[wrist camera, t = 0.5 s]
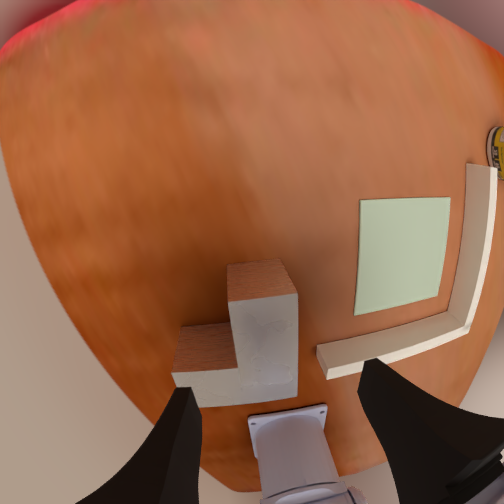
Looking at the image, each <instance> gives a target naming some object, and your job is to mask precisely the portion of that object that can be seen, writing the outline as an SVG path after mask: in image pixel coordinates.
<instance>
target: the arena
mask: <svg viewBox="0 0 504 504" xmlns="http://www.w3.org/2000/svg"><path fill="white" fill-rule="evenodd" d="M496 197H497V168H494V167H489V166H483V165H477V164H470V163H466V195H465V211H464V222H463V231H462V239H461V247H460V253H459V259H458V265H457V270H456V275H455V280H454V285H453V289H452V294H451V298H450V302H449V306H448V310H447V311H446V312H443V313H440V314H437V315H434V316H430V317H427V318H424V319H421V320H418V321H414V322H411V323H408V324H404V325H400V326H397V327H393V328H390V329H386V330H382V331H378V332H374V333H370V334H366V335H362V336H357V337H353V338H349V339H344V340H339V341H334V342H330V343H324V344H319V345H317V351H316V356H317V359H318V361H319V363H320V366H321V368H322V370H323V373H324V375H325V377H326V380H328V379H333V378H337V377H341V376H345V375H349V374H353V373H357V372H361V371H362V369H363V365H364V361H366V360H369V359H373V358H378V359H379V360H381V361H382V362H384V363H385V364H388V363H391V362H395V361H398V360H401V359H404V358H407V357H410V356H412V355H415V354H418V353H421V352H423V351H426V350H429V349H431V348H434V347H436V346H439V345H441V344H444V343H446V342H449V341H451V340H453V339H456V338H458V337H460V336H462V335H465V334H467V333H468V332H469V329H470V327H471V324H472V321H473V318H474V314H475V311H476V308H477V305H478V301H479V298H480V294H481V290H482V286H483V282H484V278H485V274H486V269H487V264H488V259H489V254H490V248H491V242H492V236H493V228H494V220H495V210H496Z"/></svg>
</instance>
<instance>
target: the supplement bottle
mask: <svg viewBox="0 0 504 504" xmlns="http://www.w3.org/2000/svg"><path fill="white" fill-rule="evenodd" d="M487 156H488V161H489V165H490V167H494V168H497V178H498V179H501V180H504V127H495V128H493V129H492V130H491V132H490V134H489V137H488V142H487Z"/></svg>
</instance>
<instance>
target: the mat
mask: <svg viewBox="0 0 504 504" xmlns="http://www.w3.org/2000/svg"><path fill="white" fill-rule="evenodd" d="M449 213H450V197H420V198H390V199H368V200H359V248H358V267H357V282H356V294H355V304H354V314H353V315H354V316H356V315H360V314H365V313H370V312H374V311H379V310H383V309H387V308H392V307H396V306H400V305H404V304H408V303H412V302H416V301H419V300H423V299H427V298H430V297H434V296H437V295H438V290H439V285H440V280H441V275H442V269H443V263H444V257H445V250H446V243H447V234H448V224H449Z"/></svg>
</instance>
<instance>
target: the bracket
mask: <svg viewBox="0 0 504 504" xmlns="http://www.w3.org/2000/svg"><path fill="white" fill-rule="evenodd" d="M227 295H228V307H229V314H230V320H231V322H226V323H216V324H205V325H194V326H182V327H181V329H180V334H179V338H178V343H177V348H176V352H175V357H174V362H173V367H172V372H171V373H172V376H173V378H174V381H175V384H176V386H177V387H192V390H193V393H194V396H195V399H196V402H197V405H198V407H216V406H229V405H240V404H249V403H257V402H265V401H272V400H279V399H285V398H291V397H296V396H297V385H298V292H297V291H296V289H295V287H294V285H293V283H292V281H291V279H290V277H289V275H288V273H287V271H286V269H285V268H284V266H283V264H282V262H281V260H280V258H277V259H269V260H260V261H252V262H243V263H234V264H227Z"/></svg>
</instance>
